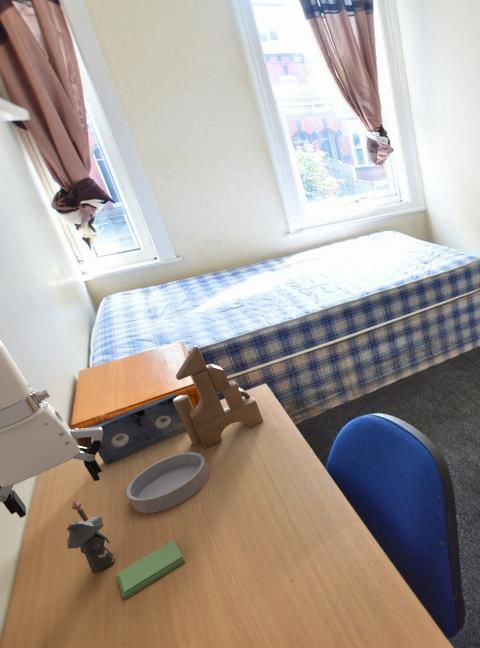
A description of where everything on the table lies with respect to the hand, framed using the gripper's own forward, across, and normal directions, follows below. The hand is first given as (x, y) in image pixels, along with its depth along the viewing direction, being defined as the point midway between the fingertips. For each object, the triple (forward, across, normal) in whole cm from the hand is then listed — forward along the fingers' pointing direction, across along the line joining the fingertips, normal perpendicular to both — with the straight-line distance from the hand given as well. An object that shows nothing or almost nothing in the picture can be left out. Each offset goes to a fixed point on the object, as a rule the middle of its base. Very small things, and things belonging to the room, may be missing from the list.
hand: (61, 494), depth 79 cm
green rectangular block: (+16, -5, +10) cm, 20 cm away
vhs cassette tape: (+17, -14, -36) cm, 42 cm away
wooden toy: (+17, -28, -24) cm, 41 cm away
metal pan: (+16, -13, -12) cm, 24 cm away
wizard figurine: (+17, +1, 0) cm, 17 cm away
